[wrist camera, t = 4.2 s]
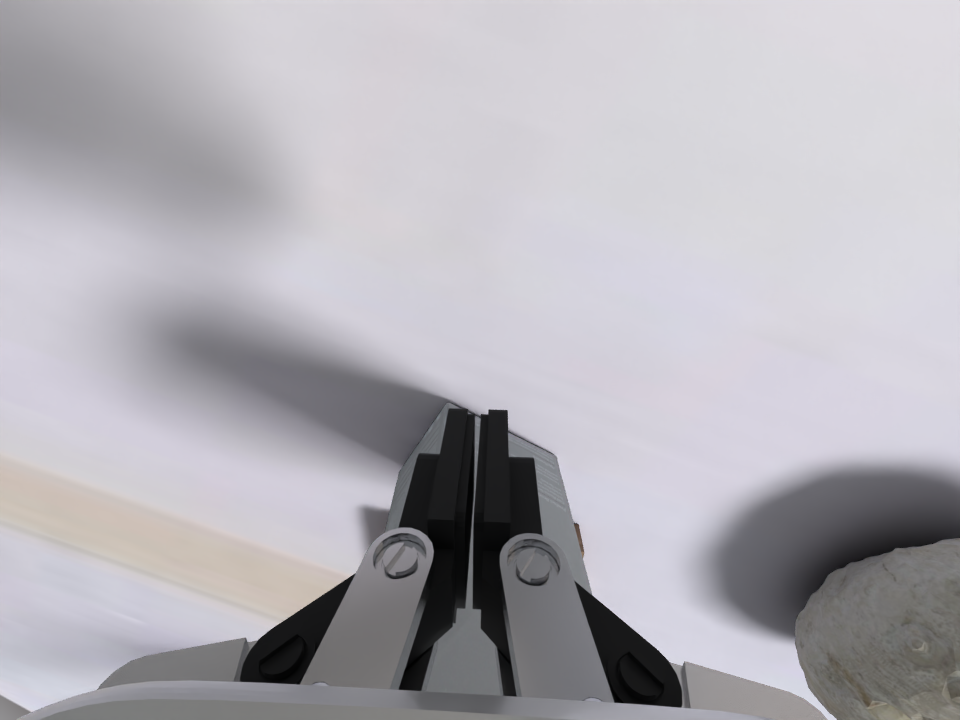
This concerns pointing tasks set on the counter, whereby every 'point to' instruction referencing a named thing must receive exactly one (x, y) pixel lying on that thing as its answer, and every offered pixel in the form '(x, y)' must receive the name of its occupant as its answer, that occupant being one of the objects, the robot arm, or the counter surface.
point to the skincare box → (465, 646)
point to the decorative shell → (886, 636)
